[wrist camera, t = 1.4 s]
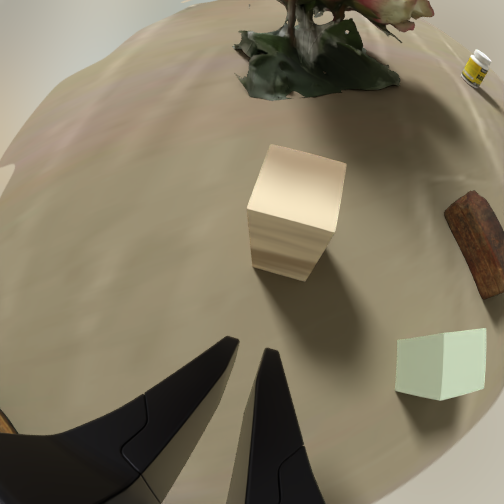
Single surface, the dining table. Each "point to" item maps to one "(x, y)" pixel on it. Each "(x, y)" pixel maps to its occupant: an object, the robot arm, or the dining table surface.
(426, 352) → the sage block
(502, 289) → the brick
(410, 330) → the dining table surface
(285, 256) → the maple block
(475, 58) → the supplement bottle
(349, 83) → the rose bouquet
